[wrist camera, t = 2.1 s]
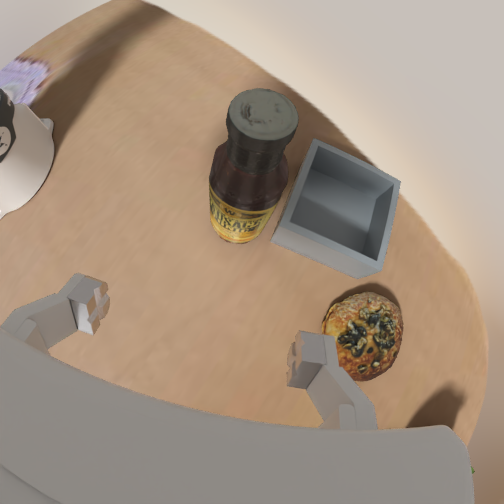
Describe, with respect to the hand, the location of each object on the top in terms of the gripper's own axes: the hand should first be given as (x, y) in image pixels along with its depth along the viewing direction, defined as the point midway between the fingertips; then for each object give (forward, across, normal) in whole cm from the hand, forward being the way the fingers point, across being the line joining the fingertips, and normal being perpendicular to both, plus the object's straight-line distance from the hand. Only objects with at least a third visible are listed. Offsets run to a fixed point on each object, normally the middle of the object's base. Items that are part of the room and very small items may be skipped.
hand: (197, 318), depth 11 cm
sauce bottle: (+23, 0, +7) cm, 24 cm away
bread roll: (+16, -17, +14) cm, 27 cm away
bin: (+25, -11, +4) cm, 27 cm away
